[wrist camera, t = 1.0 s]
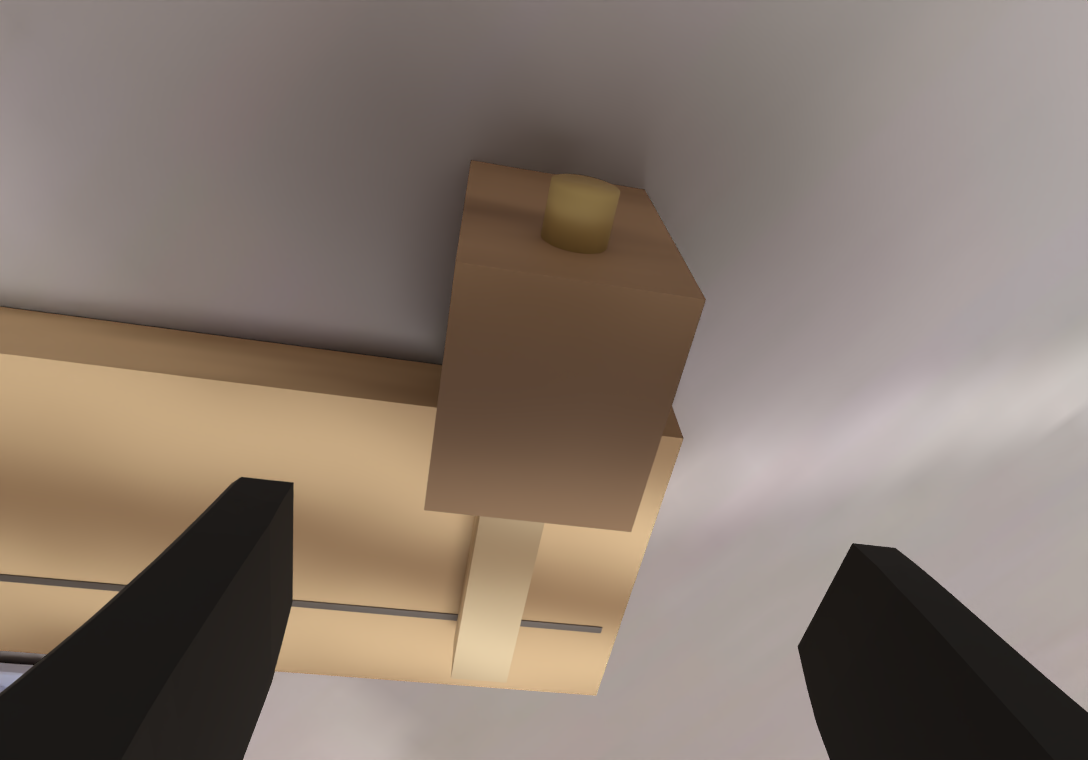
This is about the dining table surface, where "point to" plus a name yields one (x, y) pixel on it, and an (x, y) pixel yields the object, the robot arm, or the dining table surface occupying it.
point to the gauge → (550, 379)
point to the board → (282, 455)
